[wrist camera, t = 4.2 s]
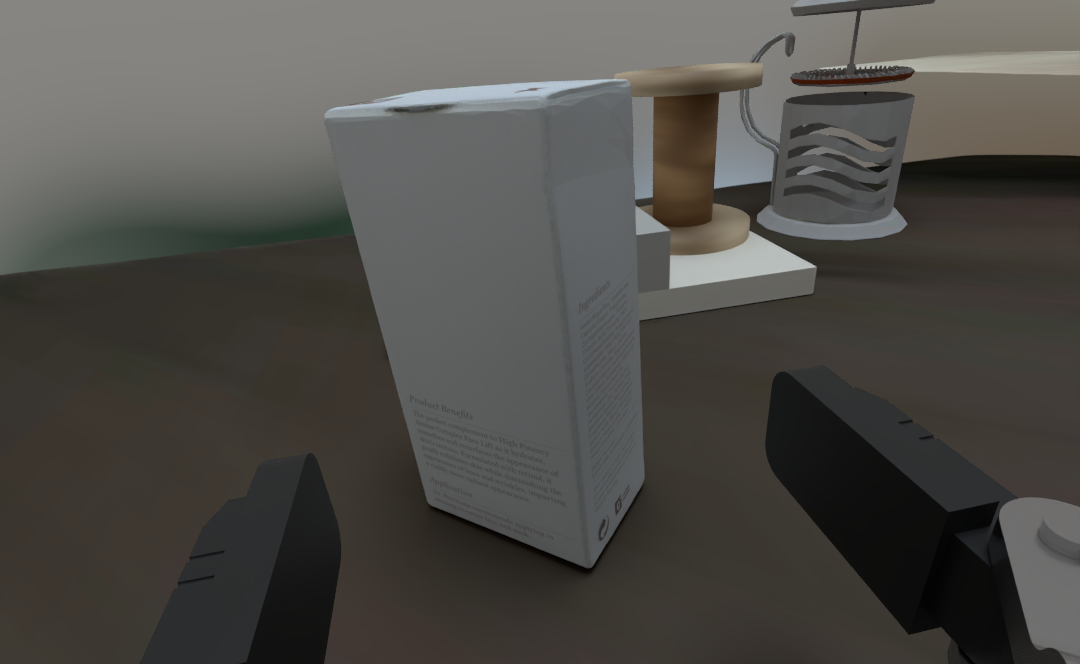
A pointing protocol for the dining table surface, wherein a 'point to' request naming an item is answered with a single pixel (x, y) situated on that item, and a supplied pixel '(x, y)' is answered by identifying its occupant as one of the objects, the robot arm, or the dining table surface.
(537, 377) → the skincare box
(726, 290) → the notched board
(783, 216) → the french press
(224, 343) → the dining table surface
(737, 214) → the bobbin
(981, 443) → the dining table surface
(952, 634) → the robot arm
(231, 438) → the dining table surface
